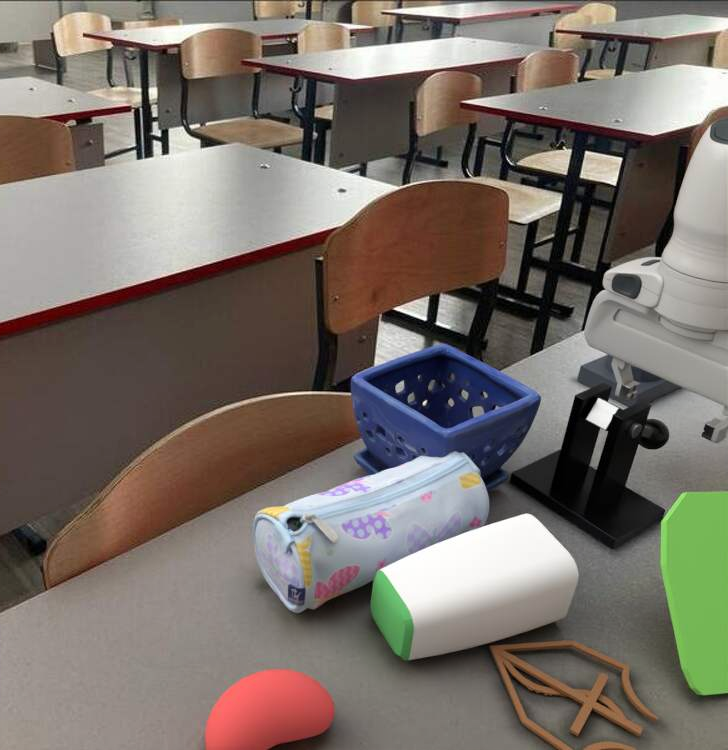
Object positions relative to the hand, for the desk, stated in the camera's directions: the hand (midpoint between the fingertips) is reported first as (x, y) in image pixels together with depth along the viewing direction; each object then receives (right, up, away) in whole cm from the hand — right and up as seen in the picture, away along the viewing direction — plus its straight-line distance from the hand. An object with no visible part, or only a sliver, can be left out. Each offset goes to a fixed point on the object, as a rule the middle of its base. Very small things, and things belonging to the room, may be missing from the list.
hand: (666, 417), depth 81 cm
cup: (-33, -15, -20) cm, 41 cm away
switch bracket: (-9, -8, -2) cm, 12 cm away
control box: (+5, +3, +18) cm, 20 cm away
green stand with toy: (-4, -12, -19) cm, 23 cm away
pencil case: (-33, -13, -10) cm, 36 cm away
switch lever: (-6, -2, -3) cm, 7 cm away
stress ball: (-42, -19, -29) cm, 55 cm away
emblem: (-20, -19, -22) cm, 35 cm away
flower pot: (-24, -7, +1) cm, 25 cm away
